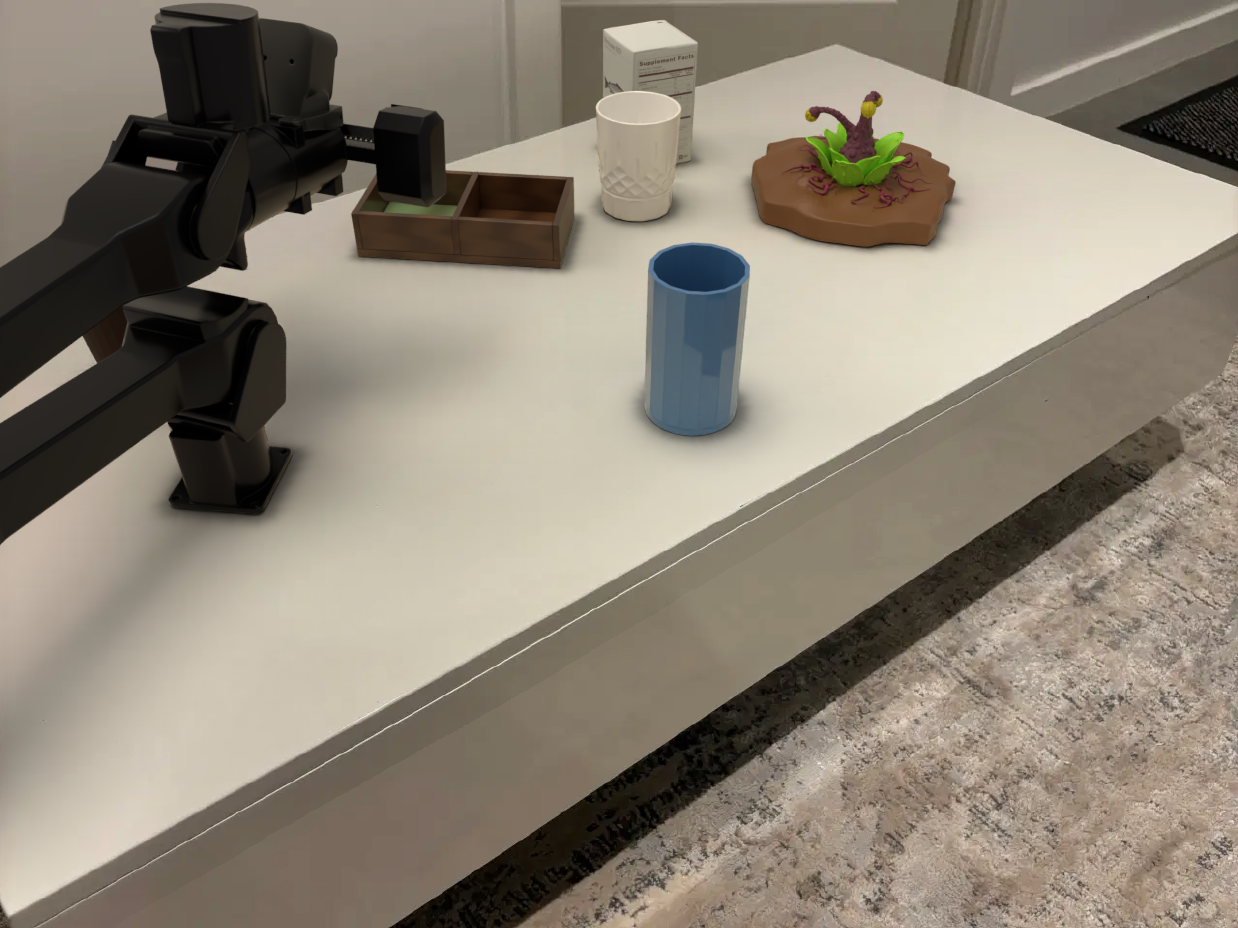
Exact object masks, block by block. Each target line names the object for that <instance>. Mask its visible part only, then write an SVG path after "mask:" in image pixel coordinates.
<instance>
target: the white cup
mask: <svg viewBox="0 0 1238 928" xmlns="http://www.w3.org/2000/svg"><path fill="white" fill-rule="evenodd" d="M680 116H681V106H680V104H679V103H678V102H677V101H676V100H674V99H673V98H671V97H669V96H666V95H663V94H659V93H654V92H647V91H627V92H620V93H615V94H612V95H609V96H606V97H604V98H603V97H602V98H601V99H600V100H599V101H598V102H597V103H596V105H595V117H596V121H595V122H596V137H597V138H596V139H597V142H596V143H597V157H598V168H599V170H598V174H599V181H600V188H601V189H600V190H601V205H602V207H603V211H604V213H605V212H606V213H607V214H608V215H609V216H611V217H613V218H615V219H620V220H623V221H626V222H646V221H652V220H657V219H659V218H661V217H663V216H665V215H666V214H668V212H669V210H670V208H671V206H672V200H673V187H674V186H673V185H674V182H675V175H676V165H677V164H676V159H677V149H678V138H679V126H680Z"/></svg>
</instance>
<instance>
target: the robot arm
mask: <svg viewBox="0 0 1238 928" xmlns="http://www.w3.org/2000/svg"><path fill="white" fill-rule="evenodd" d="M154 23H155V24H152V25H151V27H150V30H149V33H150V38H151V43H152V44H151V45H152V48H153V53H154V56H155V58H156V61H157V65H158V71H159V75H160V82H161V87H162V92H163V98H164V104H165V110H166V112H165V113H161V114H159V115H156V116H154V117H150V116H144V115H140V114H139V115H138V114H132V113H131V114H129V115H128V117H127V118H126V119H125V122H124V124H123V125H122V128H121V129H120V131H119V133H118V135H117V137H116V138H115V140H114V139H113V140H112V141H111V144H110V147H109V150H108V153H107V156H106V158H105V160H104V161H103V163H102V165H101V166H100V168H99V169H98V171H96V172H95V173H94V174H93V175H92V176H91V177H90V178H89V179H88V180H87V181H86V182H84V183H83V184H82V185H81V186H80V187H79V188H77V190H75V192H74V193H72V194H71V195H70V196H69V197H68V199H67V200H66V202H65V205H64V208H63V213H62V218H61V221H60V222H61V223H60V225H59V226H58V227H57V228H56V229H55V230H54V231H53V232H51V234H49V235H48V236H47V237H46V238H44V239H43V240H41V241H39V242H38V243H36V244H34V245H33V246H32V247H29V248H28V249H27V250H25V251H24V252H22V253H21V254H19V255H17V256H16V257H13V258H12V259H11V260H10V261H8V262H6V263H5V264H3V265H1V266H0V399H1V398H2V397H4V396H5V395H6V394H8V393H9V392H10V391H12V390H13V389H14V388H16V387H17V386H19V385H20V384H21V383H23V382H24V381H25V380H26V379H28V378H29V377H30V376H32V375H33V374H34V373H36V372H37V371H38V370H39V369H41V368H42V367H44V366H45V365H46V364H48V363H49V362H50V361H51V360H53V359H54V358H55V357H57V356H58V355H59V354H61V353H62V352H63V351H65V350H66V349H68V348H69V347H70V346H72V345H73V344H74V343H75V342H77V341H79V339H81V338H83V335H84V334H86V333H87V332H88V331H90V330H91V329H92V328H94V327H95V326H96V325H98V324H99V323H100V322H101V321H103V320H104V319H105V318H107V317H108V316H109V315H111V314H112V313H113V312H115V311H116V310H117V309H119V308H120V307H121V306H123V311H124V314H125V316H126V319H127V326H126V330H125V334H124V339H123V343H122V347H121V348H120V349H119V350H118V351H116V352H115V353H113V354H112V355H110V356H108V357H107V358H105V359H103V360H102V361H100V362H99V363H97V362H96V363H95V364H93V365H92V366H91V367H89V368H87V369H85V370H84V371H82V372H81V373H79V374H77V375H76V376H74V377H72V378H71V379H69V380H67V381H66V382H65V383H63V384H61V385H59V386H58V387H56V388H55V389H53V390H51V391H50V392H48V393H46V394H45V395H44V396H42V397H40V398H38V399H37V400H35V401H33V402H32V403H30V404H29V405H27V406H25V407H24V408H22V409H20V410H18V411H17V412H16V413H13V414H12V415H11V416H9V417H8V418H6V419H4V420H3V421H1V422H0V546H2V544H3V543H4V542H5V541H6V540H8V539H9V538H10V537H12V536H13V535H15V534H16V533H17V532H19V531H20V530H21V529H23V528H25V526H27V525H28V524H30V523H31V522H32V521H34V520H35V519H36V518H37V517H39V516H40V515H42V514H43V513H45V512H46V511H47V510H48V509H50V508H51V507H53V506H54V505H56V504H57V503H58V502H60V501H61V500H62V499H64V498H65V497H66V496H68V495H69V494H70V493H72V492H73V491H74V490H76V489H77V488H79V487H80V486H82V485H83V484H84V483H86V482H87V481H88V480H90V479H91V478H93V477H94V476H95V475H96V474H98V473H99V472H101V471H102V470H103V469H105V468H106V467H107V466H109V465H110V464H111V463H113V462H114V461H115V460H117V459H119V458H120V457H121V456H123V455H124V454H125V453H126V452H128V451H129V450H131V449H132V448H133V447H135V446H136V445H137V444H139V443H140V442H142V441H143V440H145V439H146V438H147V437H148V436H150V435H151V434H153V433H154V432H155V431H157V430H158V429H159V428H161V427H162V426H164V425H165V424H166V423H167V426H168V429H169V431H170V432H169V434H168V439H169V441H170V444H171V447H172V449H173V450H172V451H173V454H174V456H175V459H176V463H177V465H178V468H179V471H180V474H181V478H180V479H179V481H178V482H177V484H176V486H175V487H174V489H173V490H172V492H171V494H170V495H169V497H168V503H169V506H170V507H171V508H175V509H188V510H202V511H215V512H228V513H239V514H240V513H241V514H251V515H252V514H253V515H257V514H260V513H262V512H264V510H265V509H266V507H267V505H268V503H269V501H270V499H271V497H272V495H273V493H274V492H275V489H276V488H277V486H278V484H279V482H280V480H281V478H282V476H283V474H284V472H285V470H286V469H287V466H288V465H289V463H290V461H291V459H292V457H293V454H292V450H291V448H290V447H283V446H270V445H269V439H268V435H267V431H266V427H265V425H266V424H267V423H268V422H269V421H270V420H271V419H272V418H273V417H274V416H275V414H276V413H277V412H278V411H279V410H280V409H281V408H282V407H283V406H284V405H286V401H287V336H286V332H285V330H284V328H283V326H282V325H281V324H280V323H279V321H278V317H277V315H276V313H275V311H274V309H273V308H272V307H271V306H270V305H269V304H268V303H267V302H265V301H261V300H260V301H259V300H255V299H249V298H248V297H244V296H238V295H233V294H228V293H224V292H219V291H213V290H208V289H204V288H197V287H193V286H190V285H192V284H194V283H196V282H198V281H200V280H202V279H204V278H206V277H208V276H210V275H212V274H213V273H215V272H216V271H218V269H219V268H225V269H229V270H236V271H241V272H244V271H246V270H247V269H248V266H249V262H248V254H247V247H246V241H245V240H246V239H245V235H246V233H247V232H249V231H250V230H252V229H254V228H256V227H257V226H259V225H261V224H262V223H265V222H267V221H268V220H270V219H272V218H273V217H276V216H278V215H279V214H280V213H283V212H286V213H292V214H296V215H302V216H303V215H306V214H308V213H310V212H312V211H313V205H312V196H313V195H315V194H321V195H327V196H332V197H337V196H339V195H342V193H344V183H343V174H344V173H345V171H346V169H347V166H348V161H350V162H357V163H364V164H371V165H375V172H376V173H375V174H376V175H377V189H378V193H379V194H380V195H381V196H382V197H383V199H384V200H386V201H392V202H398V203H404V204H410V205H416V206H422V207H430V206H431V205H432V204H434V203H435V202H437V201H438V200H440V199H441V198H442V197H443V196H444V195H445V194H446V193H447V192H446V170H447V167H446V165H447V164H446V140H445V120H444V119H443V118H442V116H441V115H440V113H438V112H437V110H432V109H425V108H421V107H415V106H408V105H400V104H395V103H391V104H390V106H387V107H384V108H382V109H380V110H378V112H377V115H376V119H375V121H374V124H373V126H371V125H364V124H358V123H352V122H344V111H343V106H342V105H338V104H337V105H336V104H331V103H330V101H331V100H332V97H333V92H334V91H333V89H334V78H335V68H336V67H335V66H336V59H337V57H338V53H339V46H338V42H337V39H336V38H335V36H334V35H333V34H331V33H329V32H327V31H324V30H322V29H319V28H316V27H314V26H312V25H311V26H310V25H308V24H305V23H301V22H294V21H288V20H279V19H273V18H266V17H265V18H264V17H263V18H262V17H259V11H258V9H256V8H253V7H250V6H247V5H242V4H236V3H235V4H234V3H223V2H222V3H221V2H193V3H180V4H172V5H167V6H163V7H160V8H159V11H158V13H156V14H154ZM148 158H151V159H157V160H163V161H169V162H176V166H175V169H170V168H165V167H158V166H151V165H147V160H148Z"/></svg>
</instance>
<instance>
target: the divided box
mask: <svg viewBox="0 0 1238 928" xmlns="http://www.w3.org/2000/svg"><path fill="white" fill-rule="evenodd" d="M446 192H447V193H446V194H445V195H444V196H443V197H442V198H441V199H440V200H438V201H437V202H435V203H434V204H432V205H431V206H430V207H422V206H416V205H410V204H404V203H398V202H392V201H386V200H384V199H383V197H382V196H381V195H380V194H379V193H378V189H377V175H376V173H375V175H374V176H373V178H372V179H371V180H370V182H369V184H368V186H367V187H366V189H365V190H364V192H363V194H362V195H361V196H360V199H359V200H358V202H357V203H356V205H355V206H354V208H353V210H352V212H351V213H350V214H351V221H352V227H353V233H354V240H355V245H356V251H357V256H358V257H364V258H367V257H368V258H381V259H382V258H383V259H395V260H397V259H398V260H413V261H414V260H415V261H417V260H418V261H428V262H429V261H430V262H446V263H448V262H449V263H466V264H480V265H481V264H482V265H483V264H484V265H495V266H496V265H498V266H511V267H512V266H513V267H530V268H544V269H545V268H547V269H561V267H562V263H563V260H564V257H565V254H566V251H567V250H566V249H567V246H568V242H569V239H570V235H571V232H572V228H573V225H574V221H575V215H576V214H575V177H574V176H561V175H560V176H559V175H544V174H543V175H542V174H523V173H504V172H486V171H468V170H448V169H446Z"/></svg>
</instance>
